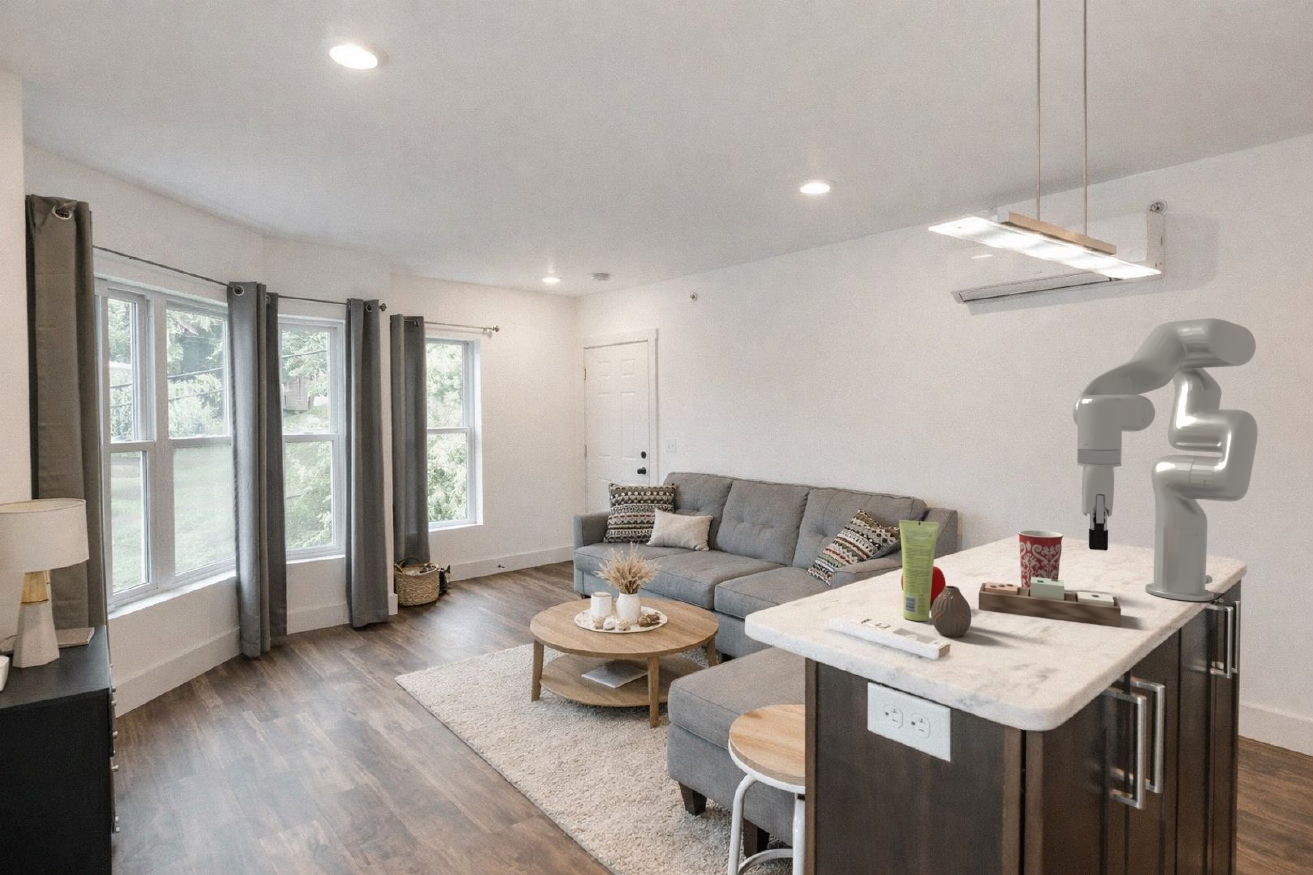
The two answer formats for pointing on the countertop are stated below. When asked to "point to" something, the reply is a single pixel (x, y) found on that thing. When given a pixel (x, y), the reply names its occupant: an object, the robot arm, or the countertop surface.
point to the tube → (917, 566)
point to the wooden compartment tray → (1050, 607)
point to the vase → (951, 613)
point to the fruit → (935, 583)
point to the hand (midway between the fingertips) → (1098, 549)
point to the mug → (1039, 555)
